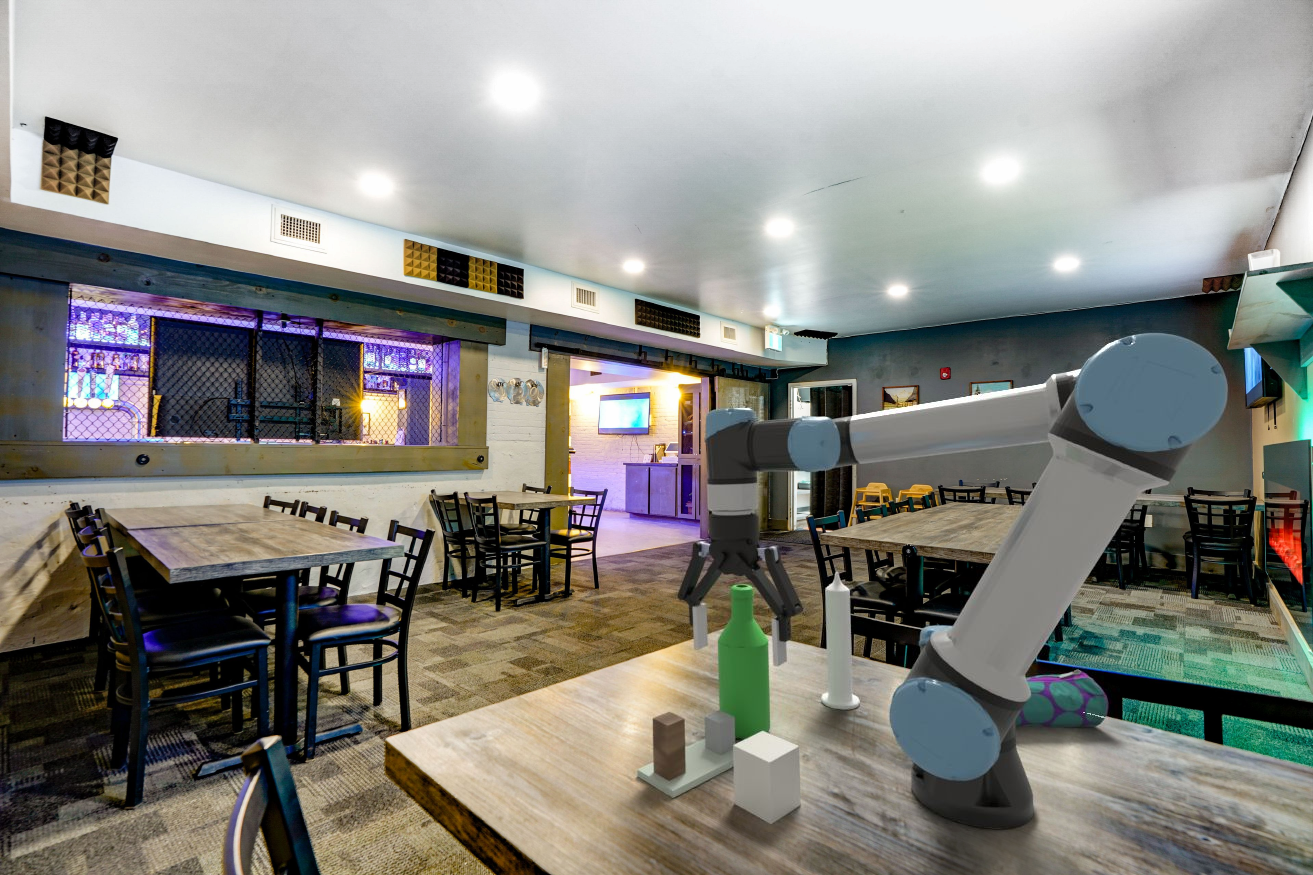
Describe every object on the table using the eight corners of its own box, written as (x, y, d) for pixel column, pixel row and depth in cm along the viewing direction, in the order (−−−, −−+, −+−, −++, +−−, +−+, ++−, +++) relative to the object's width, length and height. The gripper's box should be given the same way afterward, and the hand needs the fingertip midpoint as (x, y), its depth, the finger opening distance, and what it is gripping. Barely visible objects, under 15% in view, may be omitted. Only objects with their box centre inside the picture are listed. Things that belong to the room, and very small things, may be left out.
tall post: (685, 772, 91) (684, 718, 91) (668, 780, 89) (667, 725, 89) (670, 763, 94) (669, 711, 94) (653, 771, 92) (652, 718, 92)
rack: (751, 756, 98) (750, 718, 98) (673, 797, 86) (672, 755, 87) (715, 739, 104) (714, 703, 104) (637, 775, 92) (636, 735, 93)
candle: (863, 699, 119) (860, 570, 119) (854, 712, 113) (850, 576, 113) (827, 692, 123) (824, 567, 123) (816, 704, 117) (813, 573, 117)
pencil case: (1075, 712, 111) (1073, 659, 112) (1111, 735, 103) (1109, 677, 103) (960, 714, 111) (959, 661, 112) (987, 737, 103) (985, 679, 103)
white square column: (800, 804, 84) (799, 746, 84) (771, 824, 80) (769, 762, 80) (764, 786, 89) (762, 730, 89) (734, 803, 85) (733, 745, 85)
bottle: (769, 743, 102) (766, 592, 102) (717, 739, 104) (714, 591, 104) (770, 720, 111) (767, 581, 111) (722, 716, 112) (719, 580, 113)
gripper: (822, 512, 87) (829, 662, 86) (681, 507, 102) (685, 635, 102) (799, 517, 81) (805, 679, 80) (652, 511, 97) (657, 647, 96)
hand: (738, 655), depth 91 cm, fingers open, 13 cm apart
